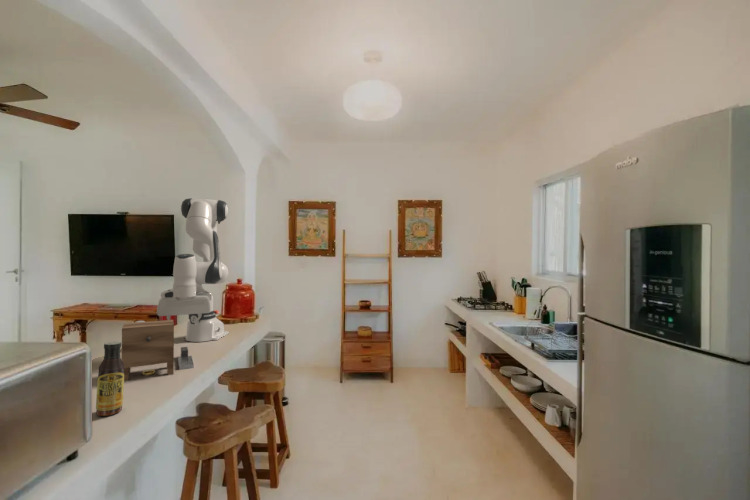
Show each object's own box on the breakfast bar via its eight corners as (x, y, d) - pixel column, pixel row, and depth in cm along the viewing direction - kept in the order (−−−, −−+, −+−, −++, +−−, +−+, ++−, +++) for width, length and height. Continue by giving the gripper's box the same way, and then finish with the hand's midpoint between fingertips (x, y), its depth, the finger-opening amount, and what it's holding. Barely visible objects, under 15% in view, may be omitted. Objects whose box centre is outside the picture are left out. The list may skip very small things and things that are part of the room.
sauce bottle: (95, 419, 102) (96, 347, 101) (96, 411, 107) (96, 342, 106) (124, 413, 105) (125, 343, 105) (123, 405, 110) (124, 339, 110)
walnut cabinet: (124, 372, 139) (124, 323, 139) (172, 366, 147) (173, 319, 147) (121, 382, 129) (121, 329, 129) (173, 374, 137) (173, 324, 137)
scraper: (177, 357, 159) (177, 347, 159) (190, 355, 162) (190, 346, 162) (179, 369, 143) (179, 359, 143) (193, 367, 146) (193, 357, 146)
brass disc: (148, 372, 141) (148, 368, 141) (157, 372, 140) (157, 369, 140) (139, 375, 137) (139, 372, 137) (148, 376, 136) (149, 373, 136)
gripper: (210, 290, 165) (210, 321, 165) (157, 292, 155) (156, 325, 155) (212, 292, 160) (211, 324, 160) (157, 294, 150) (156, 328, 150)
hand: (184, 325), depth 157 cm, fingers open, 8 cm apart
